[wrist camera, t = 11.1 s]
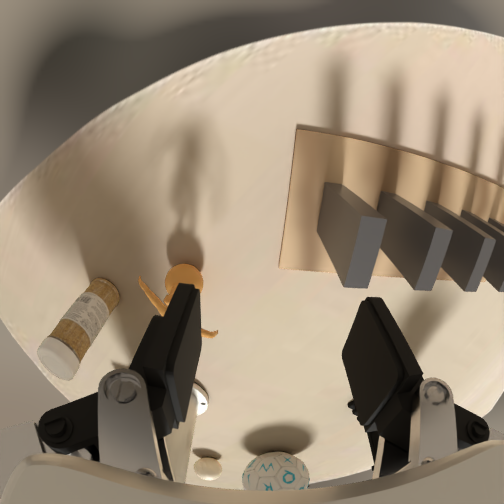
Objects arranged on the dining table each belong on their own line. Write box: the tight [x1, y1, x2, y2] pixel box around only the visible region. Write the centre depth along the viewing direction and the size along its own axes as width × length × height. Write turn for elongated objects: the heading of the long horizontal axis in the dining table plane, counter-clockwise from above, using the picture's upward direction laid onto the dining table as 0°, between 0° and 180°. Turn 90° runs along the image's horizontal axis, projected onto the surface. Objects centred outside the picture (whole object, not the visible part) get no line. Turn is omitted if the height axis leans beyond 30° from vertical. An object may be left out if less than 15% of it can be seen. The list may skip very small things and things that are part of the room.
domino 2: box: [377, 191, 453, 291], centre depth 21 cm, size 2×5×10 cm, turn 175°
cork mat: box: [279, 129, 504, 282], centre depth 26 cm, size 32×14×1 cm, turn 85°
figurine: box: [138, 264, 218, 338], centre depth 23 cm, size 8×6×12 cm
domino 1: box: [317, 182, 387, 288], centre depth 21 cm, size 2×5×10 cm, turn 175°
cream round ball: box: [194, 457, 222, 480], centre depth 51 cm, size 7×7×7 cm
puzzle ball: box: [242, 451, 310, 491], centre depth 44 cm, size 15×15×15 cm
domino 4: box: [460, 210, 504, 292], centre depth 21 cm, size 2×5×10 cm, turn 175°
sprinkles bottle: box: [37, 278, 119, 380], centre depth 25 cm, size 5×5×14 cm
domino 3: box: [424, 201, 496, 292], centre depth 21 cm, size 2×5×10 cm, turn 175°
